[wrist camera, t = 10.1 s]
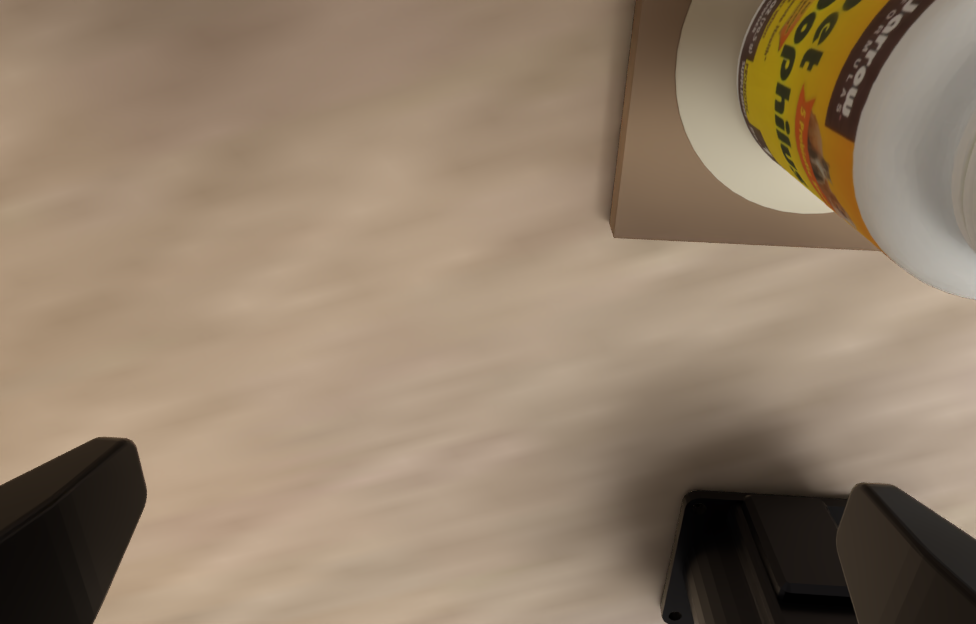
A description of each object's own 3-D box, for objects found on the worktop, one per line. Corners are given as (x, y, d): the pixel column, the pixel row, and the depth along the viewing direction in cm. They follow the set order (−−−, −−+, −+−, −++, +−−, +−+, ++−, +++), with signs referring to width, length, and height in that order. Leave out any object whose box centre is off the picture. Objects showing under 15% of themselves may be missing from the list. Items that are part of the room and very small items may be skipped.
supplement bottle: (748, -69, 16) (1049, -104, 7) (998, -68, 16) (1653, -102, 7) (711, 171, 18) (894, 378, 9) (925, 175, 18) (1326, 391, 9)
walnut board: (952, 239, 20) (977, 256, 19) (609, 223, 21) (613, 239, 19) (1099, -173, 16) (1145, -183, 15) (657, -186, 16) (667, -197, 15)
